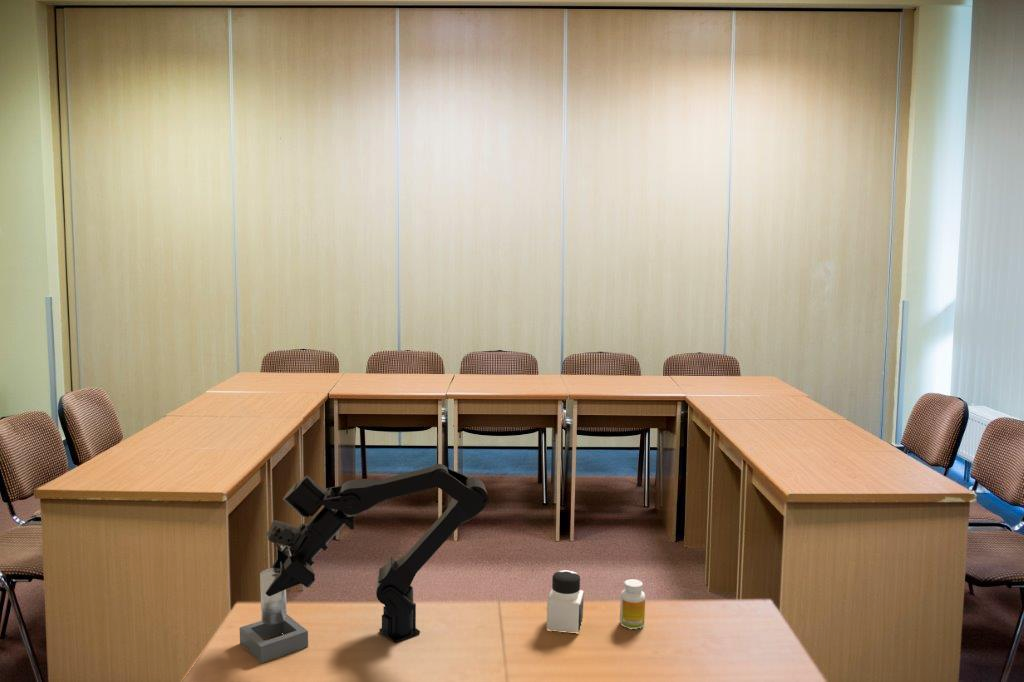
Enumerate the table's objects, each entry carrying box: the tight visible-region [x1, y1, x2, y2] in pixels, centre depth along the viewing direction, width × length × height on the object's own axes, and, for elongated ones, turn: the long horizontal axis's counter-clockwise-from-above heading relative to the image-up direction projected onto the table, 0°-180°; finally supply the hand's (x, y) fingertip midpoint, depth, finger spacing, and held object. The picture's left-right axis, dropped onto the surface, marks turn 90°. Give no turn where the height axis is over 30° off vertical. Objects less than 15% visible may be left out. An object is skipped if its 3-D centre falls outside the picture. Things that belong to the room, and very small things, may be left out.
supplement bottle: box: [619, 578, 646, 629], centre depth 183 cm, size 5×5×10 cm
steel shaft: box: [259, 567, 288, 625], centre depth 170 cm, size 5×5×10 cm
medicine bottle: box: [546, 569, 585, 633], centre depth 181 cm, size 7×7×12 cm
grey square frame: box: [239, 614, 309, 664], centre depth 171 cm, size 10×10×4 cm
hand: (266, 589), depth 169 cm, fingers closed on steel shaft, 5 cm apart
